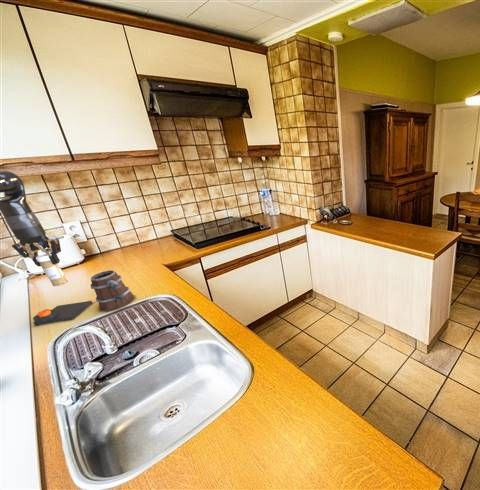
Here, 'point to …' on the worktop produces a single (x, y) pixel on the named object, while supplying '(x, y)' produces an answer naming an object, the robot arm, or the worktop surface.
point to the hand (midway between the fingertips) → (48, 264)
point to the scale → (62, 313)
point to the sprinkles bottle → (52, 270)
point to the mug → (110, 290)
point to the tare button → (44, 313)
